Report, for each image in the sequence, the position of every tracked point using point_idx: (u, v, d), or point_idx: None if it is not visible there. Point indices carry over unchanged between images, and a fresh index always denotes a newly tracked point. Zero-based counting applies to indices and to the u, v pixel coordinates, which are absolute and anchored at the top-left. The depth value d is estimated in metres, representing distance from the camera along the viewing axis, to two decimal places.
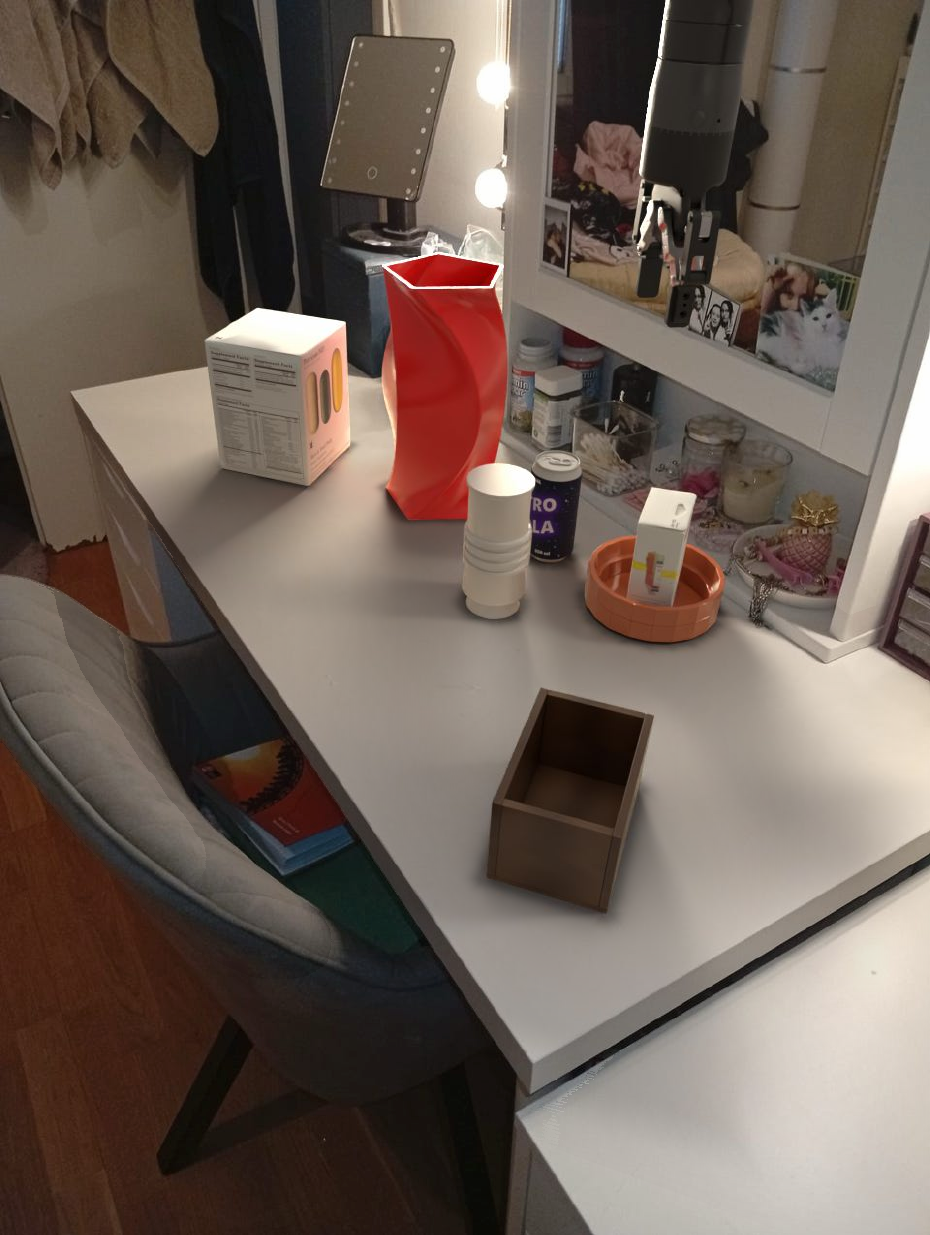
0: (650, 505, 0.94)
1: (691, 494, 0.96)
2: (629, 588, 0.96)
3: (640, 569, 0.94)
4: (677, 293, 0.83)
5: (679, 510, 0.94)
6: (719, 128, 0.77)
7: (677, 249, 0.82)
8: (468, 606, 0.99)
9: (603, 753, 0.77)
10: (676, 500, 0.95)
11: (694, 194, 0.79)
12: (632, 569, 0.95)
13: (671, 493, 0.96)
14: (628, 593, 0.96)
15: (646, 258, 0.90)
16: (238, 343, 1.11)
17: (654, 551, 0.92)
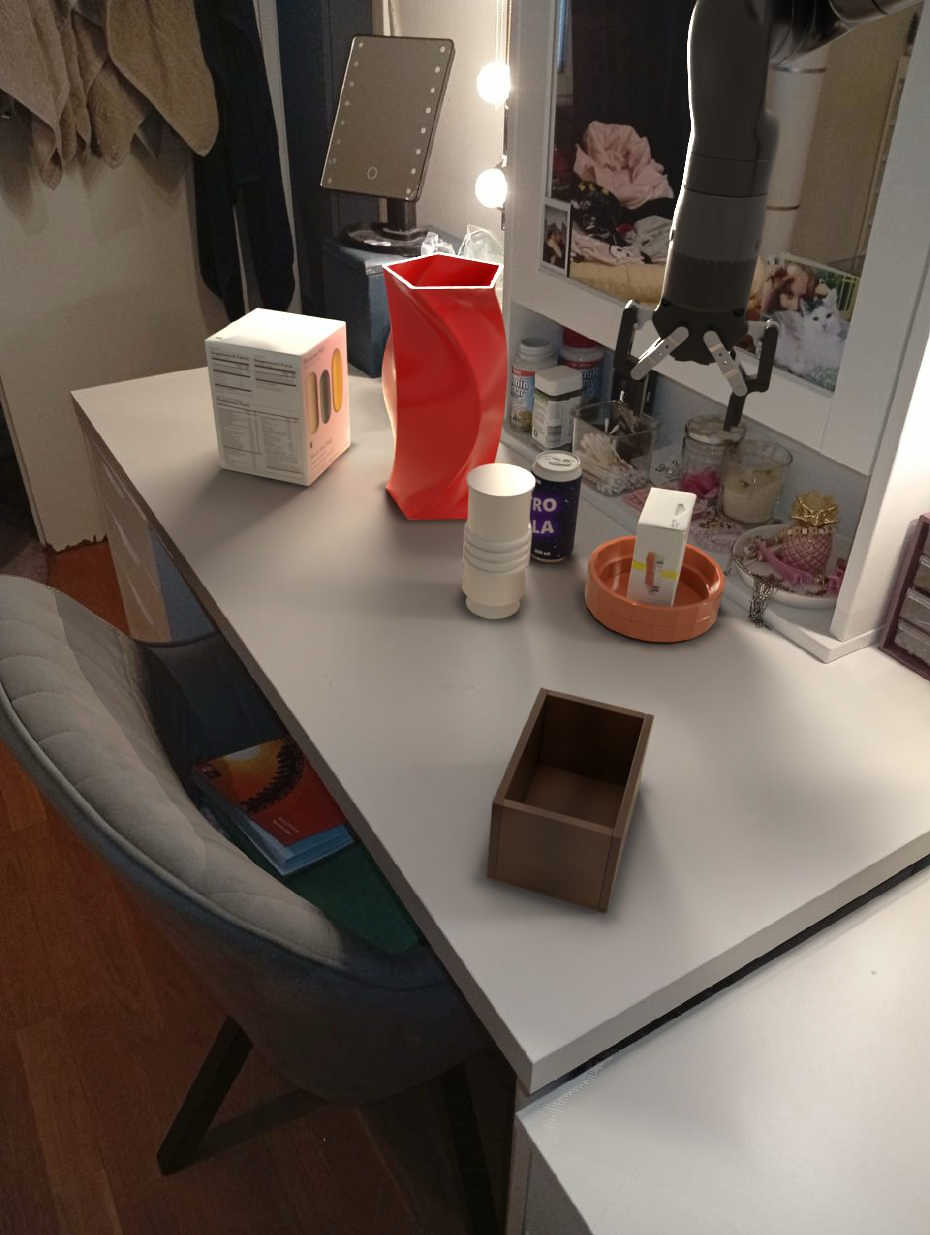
0: (650, 505, 0.94)
1: (691, 494, 0.96)
2: (629, 588, 0.96)
3: (640, 569, 0.94)
4: (739, 400, 0.85)
5: (679, 510, 0.94)
6: None
7: (735, 363, 0.83)
8: (468, 606, 0.99)
9: (603, 753, 0.77)
10: (676, 500, 0.95)
11: (746, 310, 0.81)
12: (632, 569, 0.95)
13: (671, 493, 0.96)
14: (628, 593, 0.96)
15: (644, 379, 0.87)
16: (238, 343, 1.11)
17: (654, 551, 0.92)
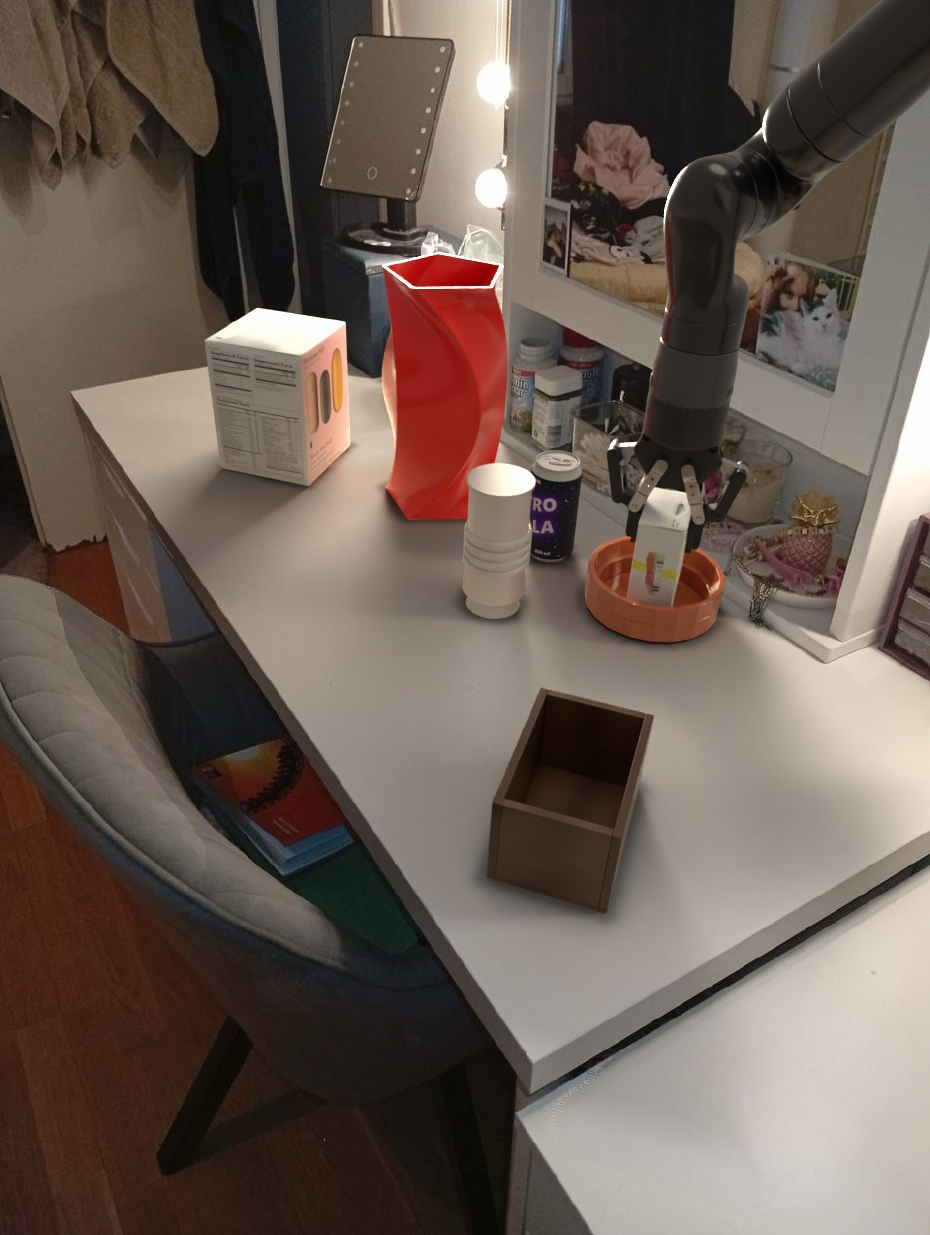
0: (651, 505, 0.94)
1: None
2: (629, 588, 0.96)
3: (640, 569, 0.94)
4: (698, 527, 0.93)
5: (680, 510, 0.94)
6: None
7: (701, 495, 0.91)
8: (468, 606, 0.99)
9: (603, 753, 0.77)
10: (676, 500, 0.95)
11: (720, 446, 0.88)
12: (632, 569, 0.94)
13: (671, 493, 0.96)
14: (628, 593, 0.96)
15: (641, 511, 0.94)
16: (238, 343, 1.11)
17: (654, 551, 0.92)
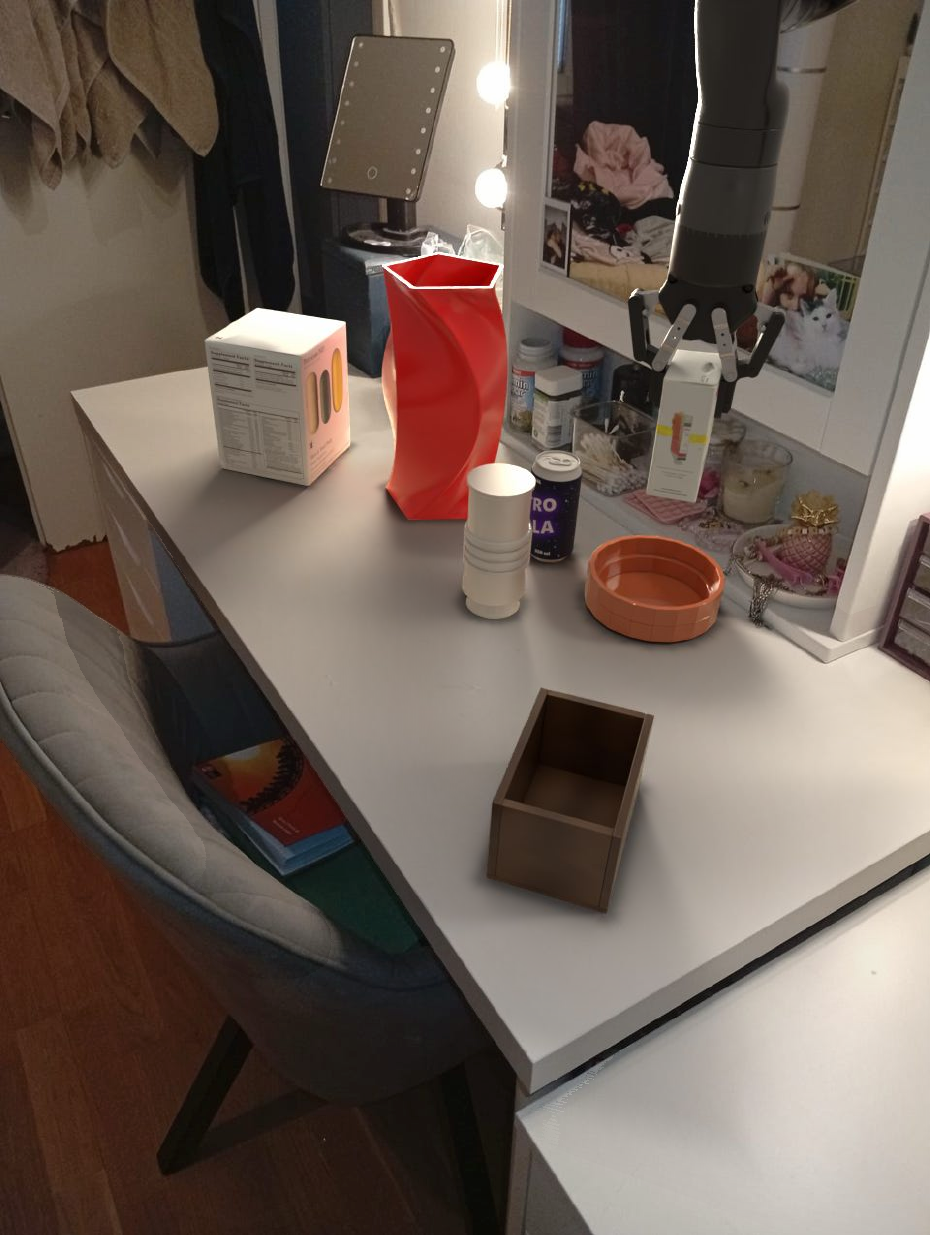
0: (676, 363, 0.85)
1: None
2: (653, 458, 0.87)
3: (665, 434, 0.85)
4: (730, 386, 0.84)
5: (709, 368, 0.85)
6: None
7: (733, 347, 0.82)
8: (468, 606, 0.99)
9: (603, 753, 0.77)
10: (705, 359, 0.86)
11: (755, 286, 0.79)
12: (656, 435, 0.85)
13: (699, 354, 0.87)
14: (652, 464, 0.87)
15: (666, 370, 0.85)
16: (238, 343, 1.11)
17: (681, 412, 0.83)
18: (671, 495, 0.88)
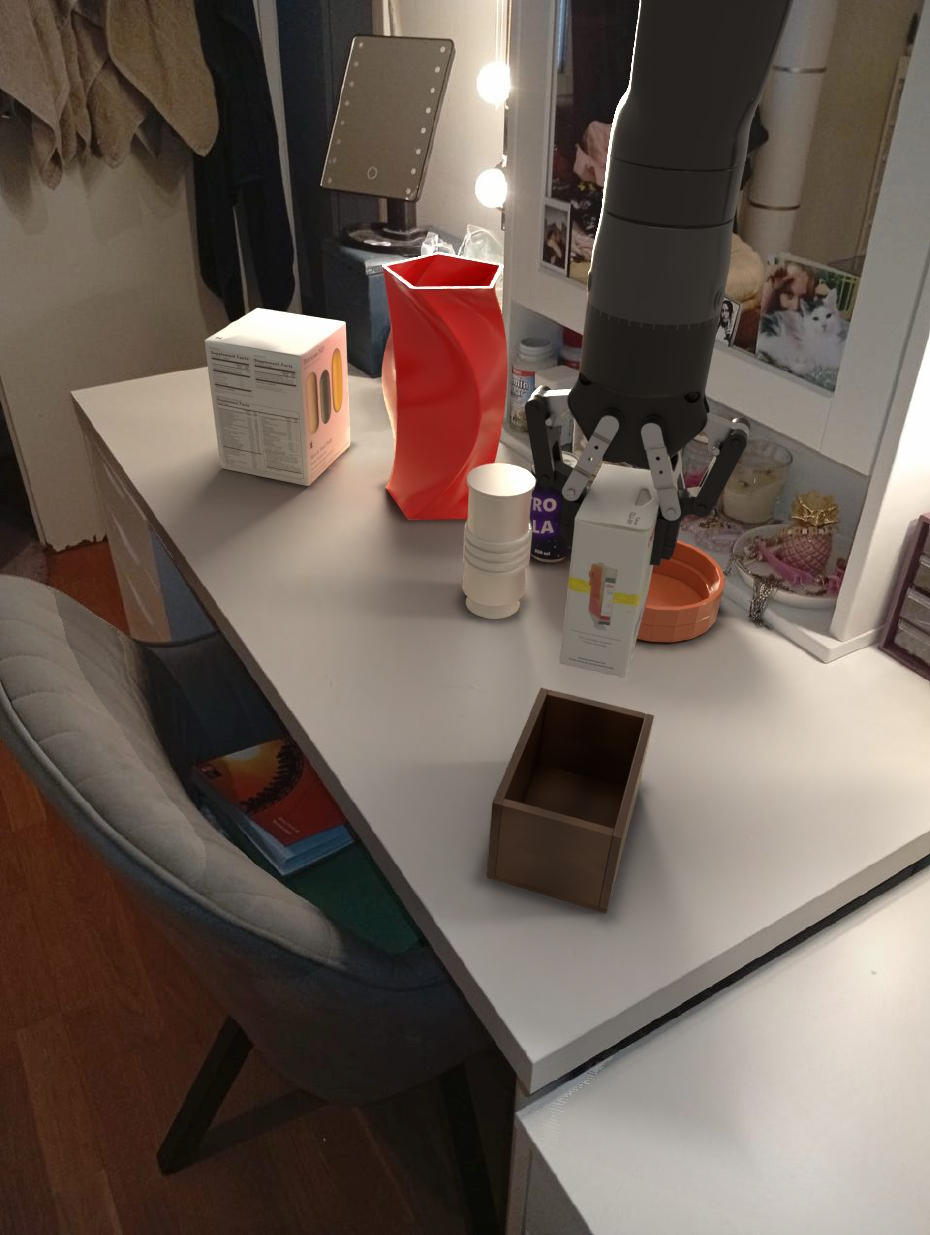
0: (598, 489, 0.60)
1: None
2: (565, 619, 0.62)
3: (580, 590, 0.60)
4: (671, 525, 0.59)
5: (643, 498, 0.60)
6: None
7: (674, 474, 0.57)
8: (468, 606, 0.99)
9: (603, 753, 0.77)
10: (638, 482, 0.61)
11: (704, 392, 0.54)
12: (569, 590, 0.61)
13: (631, 472, 0.62)
14: (564, 626, 0.62)
15: (582, 499, 0.61)
16: (238, 343, 1.11)
17: (601, 563, 0.58)
18: (592, 667, 0.63)
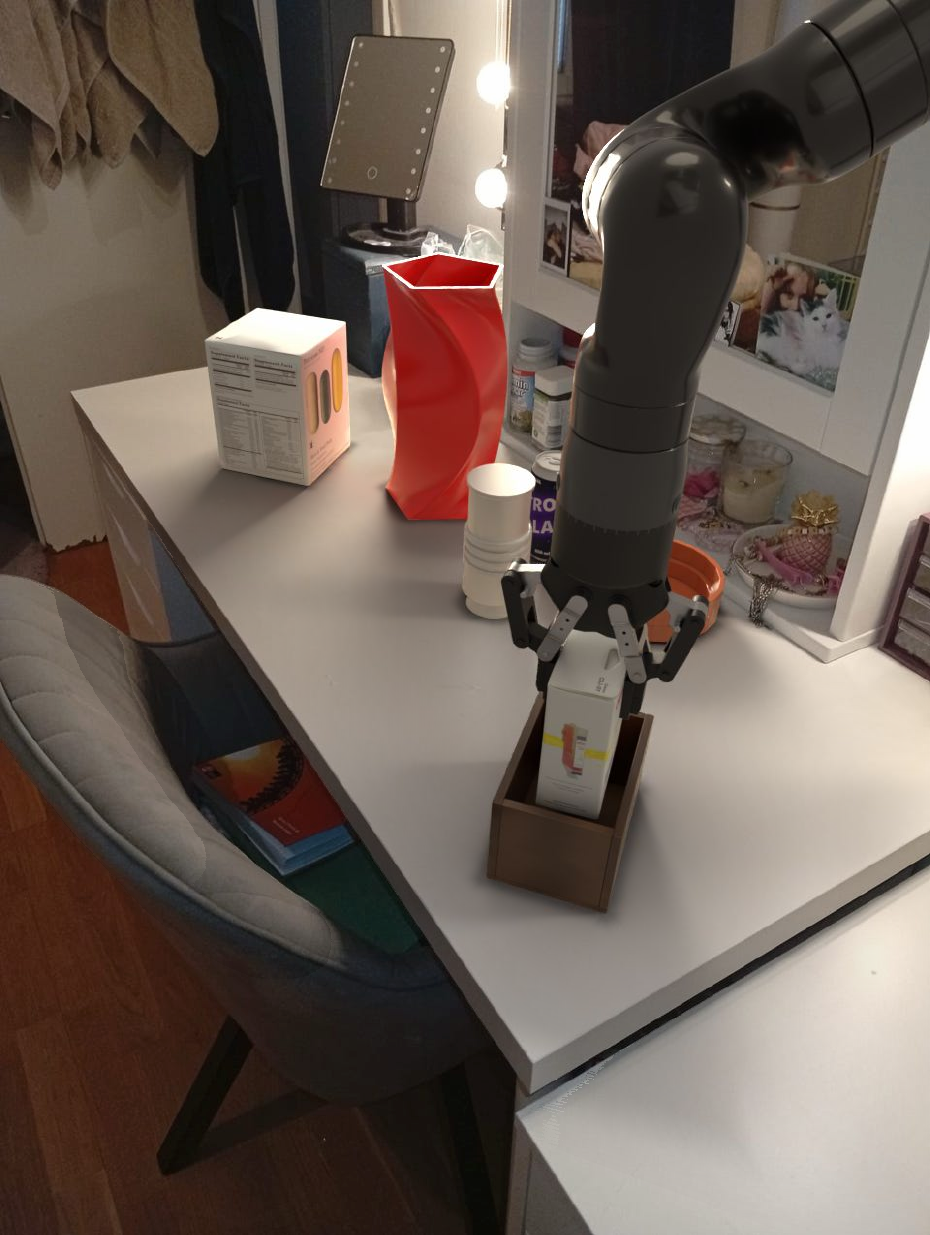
0: (570, 650, 0.65)
1: None
2: (541, 767, 0.66)
3: (554, 744, 0.65)
4: (638, 685, 0.64)
5: (611, 660, 0.64)
6: None
7: (639, 644, 0.62)
8: (468, 606, 0.99)
9: None
10: (608, 642, 0.66)
11: (665, 577, 0.59)
12: (543, 743, 0.65)
13: None
14: (540, 773, 0.67)
15: (556, 659, 0.65)
16: (238, 343, 1.11)
17: (572, 723, 0.63)
18: (566, 809, 0.68)
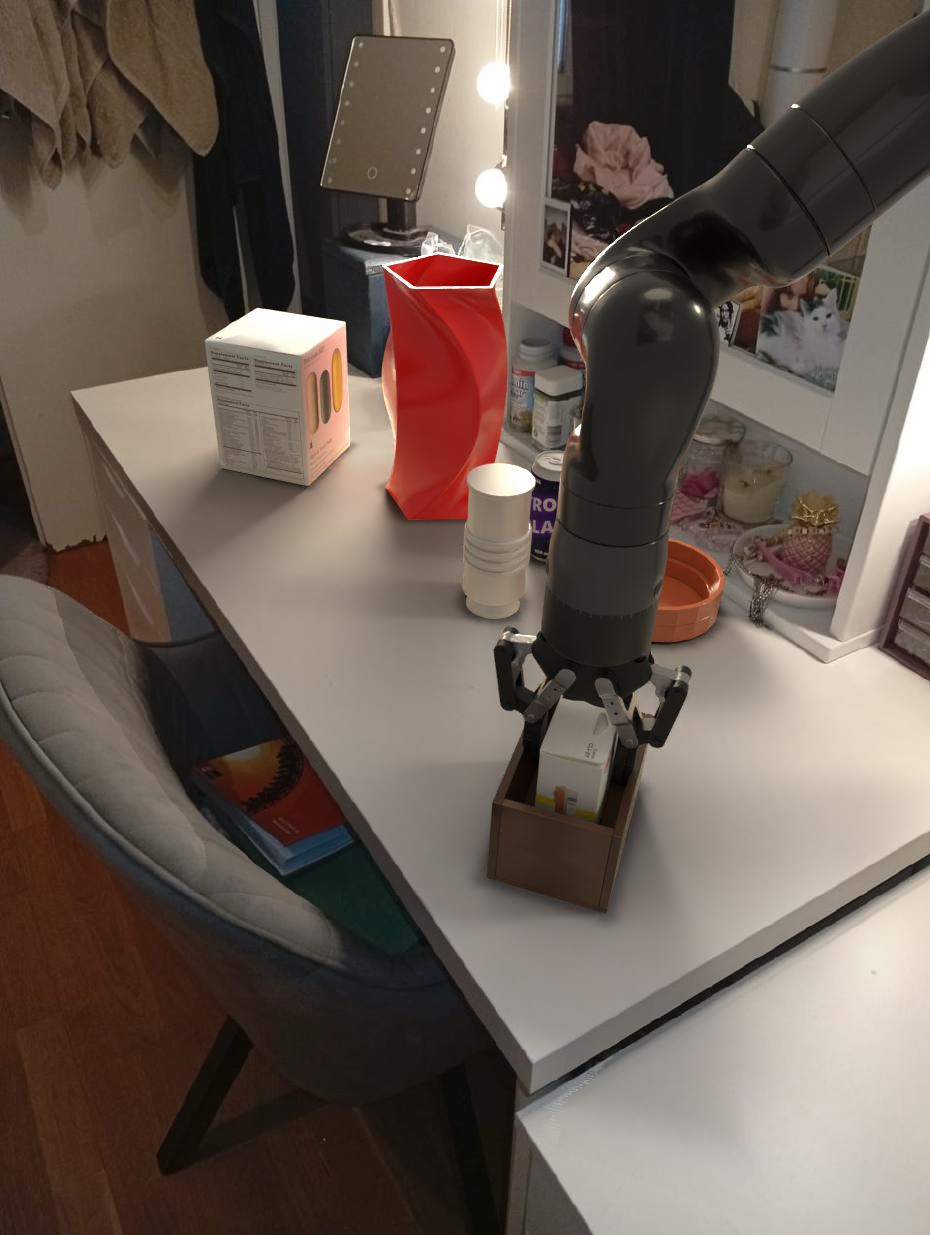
0: (561, 715, 0.69)
1: None
2: None
3: (546, 804, 0.68)
4: (630, 749, 0.67)
5: (600, 724, 0.68)
6: None
7: (628, 712, 0.65)
8: (468, 606, 0.99)
9: None
10: None
11: (649, 652, 0.63)
12: (536, 803, 0.69)
13: None
14: None
15: (541, 721, 0.69)
16: (238, 343, 1.11)
17: (563, 786, 0.67)
18: None
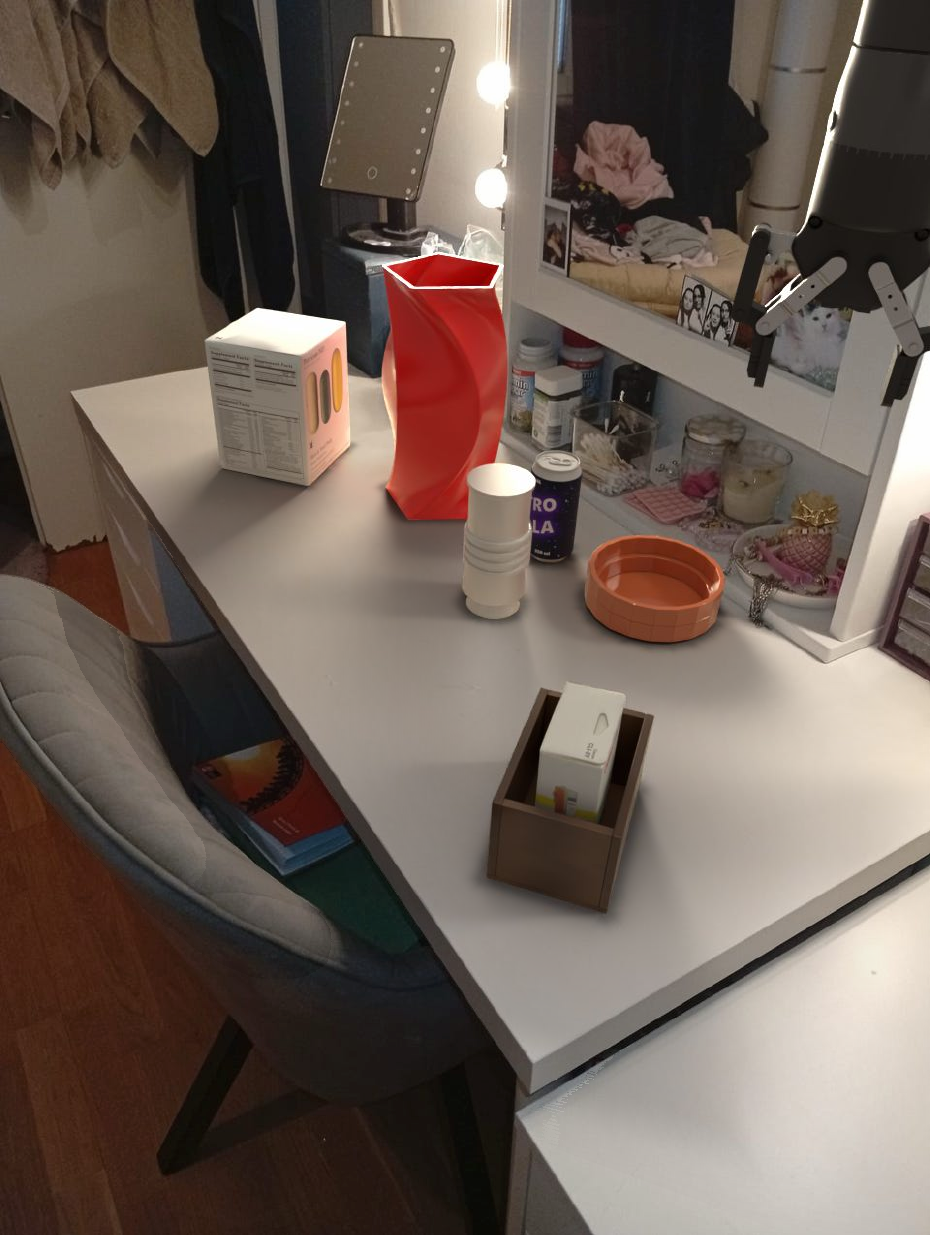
0: (561, 715, 0.69)
1: (619, 695, 0.70)
2: None
3: (546, 804, 0.68)
4: (909, 362, 0.62)
5: (600, 724, 0.68)
6: None
7: (908, 309, 0.60)
8: (468, 606, 0.99)
9: None
10: (597, 706, 0.69)
11: None
12: (536, 803, 0.69)
13: (591, 693, 0.70)
14: None
15: (773, 335, 0.64)
16: (238, 343, 1.11)
17: (563, 786, 0.67)
18: None
